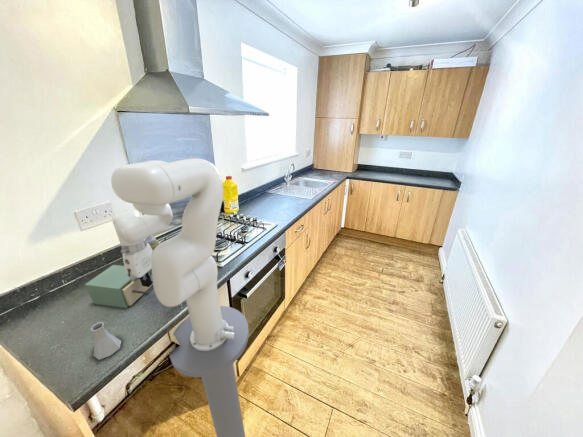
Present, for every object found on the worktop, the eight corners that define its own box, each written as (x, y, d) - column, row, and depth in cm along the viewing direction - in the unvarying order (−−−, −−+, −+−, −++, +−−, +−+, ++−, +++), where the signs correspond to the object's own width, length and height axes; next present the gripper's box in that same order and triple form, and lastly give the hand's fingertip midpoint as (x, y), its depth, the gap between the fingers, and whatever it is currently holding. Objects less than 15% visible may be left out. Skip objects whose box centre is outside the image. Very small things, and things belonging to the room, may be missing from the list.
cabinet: (149, 286, 100) (143, 268, 96) (126, 308, 89) (118, 288, 85) (120, 282, 102) (113, 264, 98) (93, 303, 91) (84, 284, 87)
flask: (124, 348, 74) (114, 326, 70) (95, 364, 69) (83, 341, 65) (119, 334, 78) (109, 312, 74) (92, 348, 74) (80, 326, 70)
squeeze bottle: (150, 261, 117) (140, 229, 109) (167, 258, 119) (159, 227, 112) (146, 271, 110) (135, 237, 102) (165, 267, 112) (156, 235, 105)
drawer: (165, 287, 98) (161, 272, 95) (146, 308, 88) (140, 292, 85) (124, 282, 101) (118, 268, 98) (100, 301, 91) (93, 286, 88)
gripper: (127, 258, 76) (141, 300, 84) (157, 236, 90) (168, 274, 97) (107, 255, 77) (123, 297, 85) (140, 234, 91) (152, 272, 98)
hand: (147, 285), depth 91 cm, fingers closed
